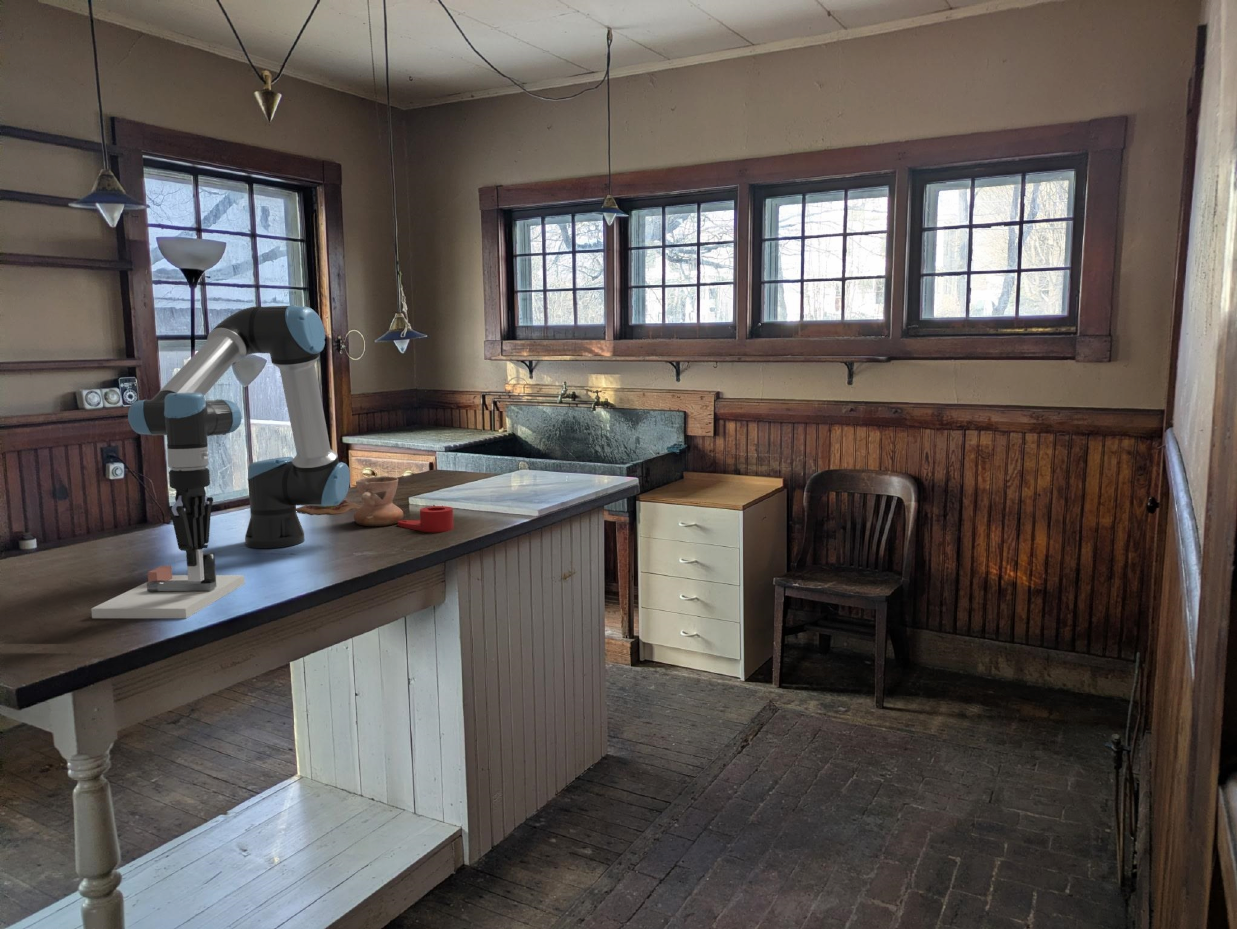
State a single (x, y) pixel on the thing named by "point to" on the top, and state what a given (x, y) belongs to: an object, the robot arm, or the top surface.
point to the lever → (431, 520)
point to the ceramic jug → (377, 501)
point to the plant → (329, 509)
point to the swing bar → (187, 585)
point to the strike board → (165, 598)
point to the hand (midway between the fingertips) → (196, 580)
